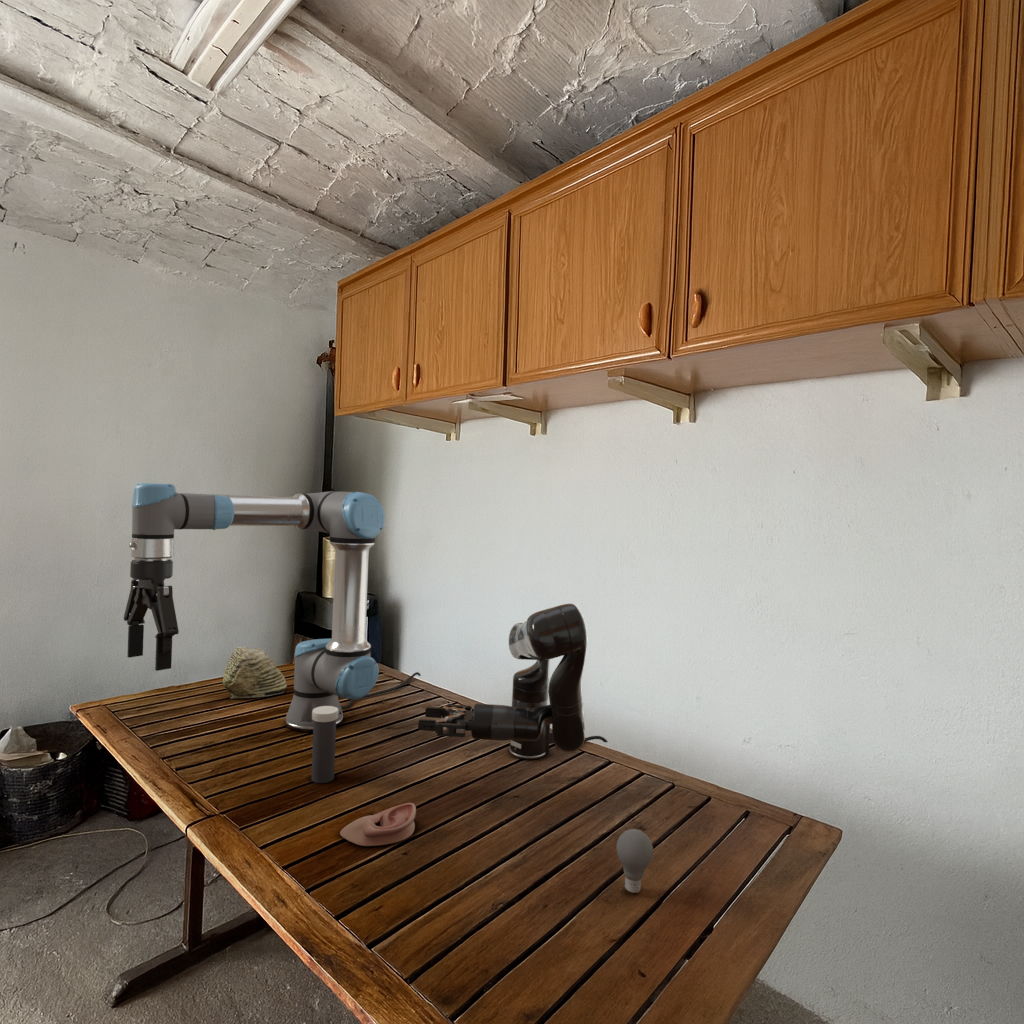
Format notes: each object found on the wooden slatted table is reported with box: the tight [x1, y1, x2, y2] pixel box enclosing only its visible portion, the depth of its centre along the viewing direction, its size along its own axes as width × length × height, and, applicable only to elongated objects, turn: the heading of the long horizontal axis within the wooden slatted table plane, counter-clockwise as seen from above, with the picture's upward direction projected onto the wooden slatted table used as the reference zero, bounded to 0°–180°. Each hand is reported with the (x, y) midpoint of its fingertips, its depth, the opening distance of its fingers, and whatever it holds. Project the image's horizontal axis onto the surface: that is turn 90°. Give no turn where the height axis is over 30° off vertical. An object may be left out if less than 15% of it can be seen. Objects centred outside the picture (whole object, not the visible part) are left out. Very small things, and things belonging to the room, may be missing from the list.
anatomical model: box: [339, 802, 417, 847], centre depth 121 cm, size 13×4×12 cm
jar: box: [311, 720, 337, 784], centre depth 142 cm, size 5×5×15 cm
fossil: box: [222, 646, 288, 699], centre depth 198 cm, size 9×18×15 cm, turn 132°
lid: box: [312, 706, 339, 722], centre depth 142 cm, size 6×6×2 cm
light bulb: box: [615, 828, 654, 894], centre depth 106 cm, size 6×6×10 cm
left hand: (148, 662), depth 129 cm, fingers open, 13 cm apart
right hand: (422, 718), depth 141 cm, fingers open, 8 cm apart
